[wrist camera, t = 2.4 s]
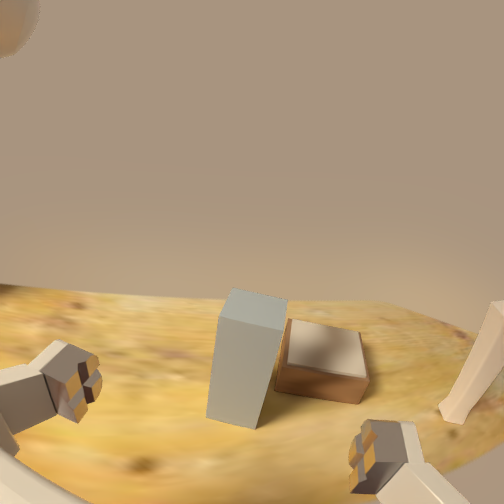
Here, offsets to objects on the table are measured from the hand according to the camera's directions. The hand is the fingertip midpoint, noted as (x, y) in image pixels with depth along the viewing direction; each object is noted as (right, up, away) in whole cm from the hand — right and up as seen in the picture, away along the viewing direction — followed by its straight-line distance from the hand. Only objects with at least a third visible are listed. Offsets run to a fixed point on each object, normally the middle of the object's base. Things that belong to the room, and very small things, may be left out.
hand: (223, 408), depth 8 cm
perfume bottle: (+21, -12, +17) cm, 30 cm away
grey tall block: (-1, -8, +16) cm, 18 cm away
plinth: (+7, -7, +22) cm, 25 cm away
